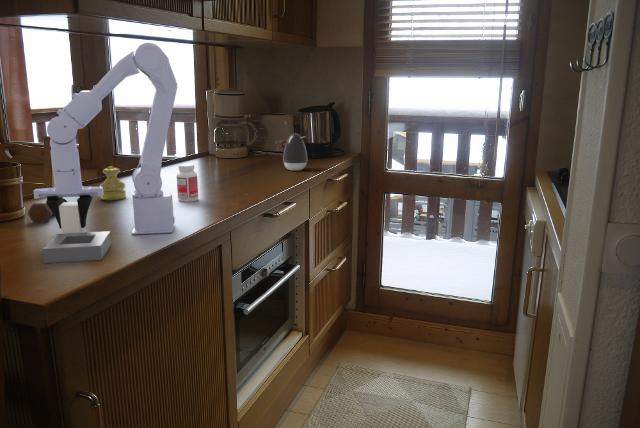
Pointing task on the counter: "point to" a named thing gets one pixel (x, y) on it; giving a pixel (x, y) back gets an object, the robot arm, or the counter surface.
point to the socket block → (77, 247)
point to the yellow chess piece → (112, 185)
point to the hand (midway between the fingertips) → (73, 227)
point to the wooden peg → (70, 218)
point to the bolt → (40, 212)
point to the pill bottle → (187, 183)
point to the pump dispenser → (295, 153)
